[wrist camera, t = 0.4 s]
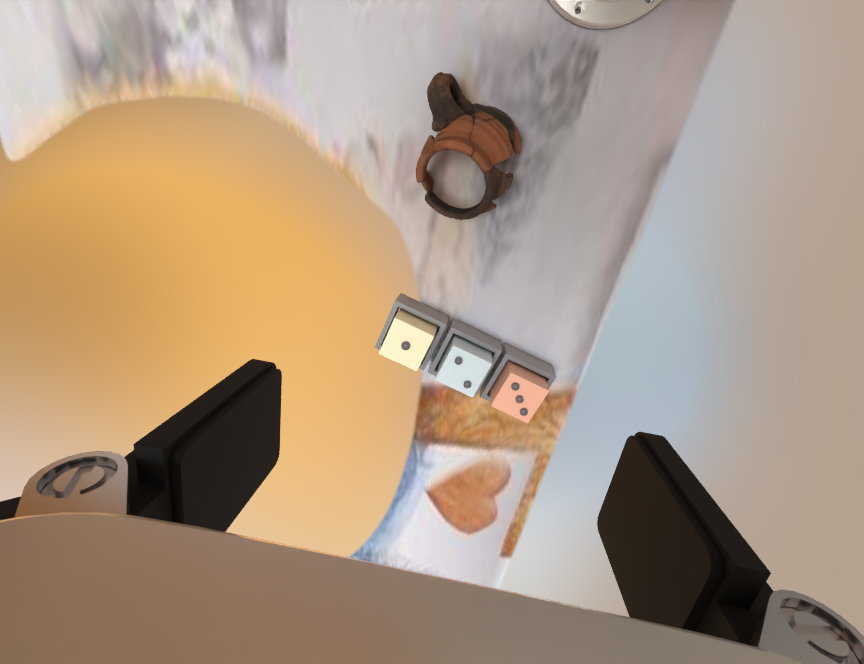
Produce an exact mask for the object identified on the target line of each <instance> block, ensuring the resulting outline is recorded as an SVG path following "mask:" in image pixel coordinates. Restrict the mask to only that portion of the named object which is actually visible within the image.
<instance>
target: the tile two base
mask: <svg viewBox="0 0 864 664" xmlns="http://www.w3.org/2000/svg"><path fill="white" fill-rule="evenodd" d="M453 333H455V334H457V335H459V336H461V337H463V338H465V339H467V340H469V341H471V342H473V343H476V344H478V345H480V346H482V347H484V348H486V349H488V350H490V351H492V365H491V367H490V369H489V370H488V372H487V374H486V375H485V377H484V379H483V381H482V382H481V384H480V386H479V388H478V389H477V391H476V393H475V395H477V393H478V391H479V390H480V388H481V386H482V384H483V383H484V381H485V379H486V378H487V376H488V374H489V372H490V371H491V369H492V367H493V366H494V364H495V362H496V360H497V359H498V357H499V355H500V354H501V352H502V347H501V341H500V340H498V339H496V338H494V337H492V336H490V335H488V334H485V333H483V332H481V331H479V330H477V329H475V328H473V327H471V326H469V325H467V324H465V323H462V322H460V321H458V320H456V319H454V318H453V319H452V321H451V323H450V325H449V327H448V329H447V331H446V333H445V335H444V337H443V339H442V341H441V343H440V345H439V347H438V349H437V351H436V353H435V355H434V356H433V358H432V360H431V363H430V367H429V370H428V373H431V374H433V375H435V376H436V373H437V369H438V365H439V362H440V361H439V360H440V358H441V356H442V354H443V352H444V350H445V348H446V346H447V344H448V342H449V341H450V339H451V337H452V335H453Z"/></svg>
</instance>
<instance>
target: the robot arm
mask: <svg viewBox="0 0 864 664" xmlns="http://www.w3.org/2000/svg"><path fill="white" fill-rule="evenodd" d="M661 1H662V0H649V3H647V2H646V1H645V0H549V2H550V3H551V5H552V6H553V7H554V8H555V9H556V10H557V11H558V12H559V13H560V14H561V15H562V16H563V17H564V18H566V19H568V20H569V21H571V22H573V23H574V24H577V25H580V26H583V27H586V28H592V29H608V28H615V27H619V26H622V25H625V24H628V23H631V22H633V21H635V20H636V19H638V18H640V17H642V16H643V15H645V14H647V13H648V12H649V11H650V10H652V9H653V8H654V7H655V6H656V5H658V4H659V3H660V2H661ZM575 9H579V10H580V14H576V13H575ZM281 380H282V375H281V371H280V370H279V369H276V366H275V364H274V363H271V362H266V361H261V360H255V359H252V360H250V361H248V362H247V363H246V364H244V365H243V366H242V367H240V368H239V369H237V370H236V371H234V372H233V373H232V374H230V375H229V376H228V377H226V378H225V379H224V380H222V381H221V382H219V383H218V384H216V385H215V386H214V387H212V388H211V389H210V390H208V391H207V392H205V393H204V394H203V395H201V396H200V397H198V398H197V399H196V400H194V401H193V402H191V403H190V404H189V405H187V406H186V407H185V408H183V409H182V410H180V411H179V412H178V413H176V414H175V415H173V416H172V417H171V418H169V419H168V420H167V421H165V422H164V423H162V424H161V425H160V426H158V427H157V428H155V429H154V430H153V431H151V432H150V433H148V434H147V435H146V436H144V437H143V438H142V439H140V440H139V441H137V442H136V443H135V444H134V450H133V451H132V452H131V453H129V454H128V455H127V456H126V457H123V456H121V455H120V454H117V453H113V452H106V451H94V452H86V453H80V454H77V455H72V456H68V457H66V458H63V459H61V460H58V461H55V462H53V463H51V464H50V465H48V466H46V467H44V468H42V469H41V470H39V471H38V472H37V473H36V474H34V476H32V477H31V478H30V479H29V481H28V482H27V484H26V485H25V487H24V490H23V493H22V496H21V497H17V498H13V499H9V500H5V501H1V502H0V664H864V636H863V635H862V634H861V633H860V632H859V631H858V630H857V629H856V628H855V627H854V626H852V625H851V624H850V623H849V622H848V621H846V620H845V619H844V618H843V617H841V616H840V615H838V614H837V613H836V612H834V611H833V610H831V609H830V608H828V607H827V606H825V605H824V604H822V603H820V602H818V601H816V600H814V599H812V598H810V597H809V596H806V595H803V594H800V593H798V592H795V591H789V590H778V591H773V590H772V589H771V587H770V586H769V585H768V584H767V582H766V581H767V579H768V577H769V576H770V574H771V573H770V572H769V570H768V569H767V568H766V566H765V565H764V564H763V562H762V561H761V560H760V559H759V557H758V556H757V555H756V553H755V552H754V551H753V550H752V548H751V547H750V546H749V545H748V543H747V542H746V541H745V539H744V538H743V537H742V536H741V534H740V533H739V532H738V530H737V529H736V528H735V527H734V525H733V524H732V523H731V522H730V520H729V519H728V518H727V516H726V515H725V514H724V513H723V512H722V510H721V509H720V507H719V506H718V505H717V504H716V502H715V501H714V500H713V499H712V497H711V496H710V495H709V493H708V492H707V491H706V490H705V488H704V487H703V486H702V484H701V483H700V482H699V481H698V479H697V478H696V477H695V475H694V474H693V473H692V472H691V470H690V469H689V468H688V466H687V465H686V464H685V463H684V462H683V460H682V459H681V458H680V456H679V455H678V454H677V452H676V451H675V450H674V449H673V448H672V446H671V445H670V443H669V442H668V441H667V440H666V438H664V437H663V436H660V435H654V434H649V433H644V432H638V433H636V434H635V436H630V437H628V439H627V441H626V443H625V446H624V449H623V451H622V454H621V457H620V459H619V462H618V465H617V467H616V470H615V473H614V475H613V478H612V481H611V483H610V486H609V489H608V491H607V494H606V497H605V500H604V502H603V505H602V507H601V510H600V513H599V516H598V522H597V524H598V531H599V534H600V537H601V539H602V542H603V545H604V548H605V550H606V553H607V556H608V559H609V561H610V564H611V567H612V569H613V572H614V575H615V578H616V581H617V583H618V586H619V589H620V591H621V594H622V597H623V600H624V603H625V605H626V608H627V611H628V613H629V616H630V617H625V616H621V615H616V614H611V613H607V612H602V611H597V610H592V609H588V608H584V607H579V606H574V605H570V604H565V603H561V602H556V601H552V600H547V599H542V598H538V597H533V596H528V595H524V594H519V593H515V592H510V591H505V590H501V589H496V588H491V587H487V586H482V585H477V584H472V583H468V582H463V581H458V580H454V579H449V578H444V577H440V576H435V575H430V574H425V573H421V572H416V571H411V570H406V569H401V568H397V567H392V566H387V565H382V564H378V563H373V562H368V561H363V560H359V559H354V558H349V557H344V556H339V555H334V554H329V553H324V552H320V551H315V550H309V549H305V548H300V547H295V546H290V545H285V544H281V543H275V542H270V541H265V540H261V539H256V538H251V537H247V536H242V535H237V534H232V533H227V532H225V531H226V530H227V528H228V527H229V526H230V525H231V523H232V522H233V521H234V519H235V518H236V517H237V515H238V514H239V513H240V512H241V510H242V509H243V508H244V506H245V505H246V503H247V502H248V501H249V499H250V498H251V497H252V496H253V494H254V493H255V491H256V490H257V489H258V488H259V486H260V485H261V484H262V482H263V481H264V480H265V478H266V477H267V476H268V474H269V473H270V471H271V470H272V469H273V467H274V466H275V465H276V462H277V460H278V457H279V450H280V416H281Z"/></svg>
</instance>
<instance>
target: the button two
mask: <svg viewBox="0 0 864 664" xmlns="http://www.w3.org/2000/svg"><path fill="white" fill-rule="evenodd" d="M491 365H492V351H490V350H488V349H486V348H484V347H482V346H480V345H478V344H476V343H473V342H471V341H469V340H467V339H465V338H463V337H461V336H459V335H457V334H454V336H453V338H452V340H451V341H450V343H449V345H448V347H447V349H446V351H445V353H444V355H443V357H442V359H441V361H440V362H439V365H438V369H437V373H436V378H435V380H436V381H438V382H440V383H443V384H445V385H447V386H449V387H451V388H453V389H455V390H458V391H460V392H462V393H464V394H466V395H468V396H470V397H472V398H473V396H474V394H475V393H476V391H477V389H478V388H479V386H480V384H481V382H482V381H483V379H484V377H485V375H486V374H487V372H488V370H489V369H490V367H491Z"/></svg>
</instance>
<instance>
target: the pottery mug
mask: <svg viewBox="0 0 864 664" xmlns="http://www.w3.org/2000/svg"><path fill="white" fill-rule="evenodd" d="M427 95H428V101H429V106H430V109H431V112H432V115H433V122H432V129H433V130H434V131H436V132H438V131H440V132H439V133H438V134H437V136H436V138H434V137H433V136H432V135H430V137H429V138H428V140H427V141H426V143H425V146H424V148H423V150H422V153H421V156H420V158H419V160H418V163H417V168H416V178H417V182H418V183H421V182H422V185H423V187H424V188H425V190H426V191H427V194H426V196H425V201H426V202H427V203H428V204H429V205H430V206H431V207H432V208H433V209H435V210H436V211H437V212H438V213H440V214H442V215H444V216H446V217H449V218H455V219H460V220H463V219H471V218H474V217H476V216H478V215H480V214H482V213H485V212H488V211H490V210H492V209H494V208H496V205H495V204H493V202H492V200H494V199H497V198H499V197H500V196H502V195H503V193H504V192H505V190H506V189H508V188H509V187H510V186H511V183H512V179H513V174H512V173H509V174H505V173H503V172H501V171H499V170H498V169H497V168H495V165H497V164H499V163H501V162H502V161H505V160H506V159H509V158H510V157H511V154H512V151H513V147H512V145H511V142H510V141H512V140H513V144H514V149H515V154H519V153H520V152H521V140H520V135H519V133H518V130H517V128H516V126H515V124H514V122H513V121H512V120H511V118H510V117H508V115H507V114H505V113H504V112H502V111H501V110H499V109H497V108H494V107H490V106H483V105H479V104H471V103H470V102H469V101H468V100H467V99H466V98H465V96H464V95H463V94H462V91H461V89H460V87H459V85H458V83H457V81H456V79H455V78H454V77H453V75H451V74H444V73H442V72H440V73H438V74H436V75H435V76H434V77H433V79H432V81H431V83H430V85H429V86H428V91H427ZM470 114H474V117H471V116H470ZM441 150H456V151H460V152H462V153H464V154H466V155H468V156H469V157H471V158H472V159H473V160H474V161H475V162H476V163H477V164H478V166H479V167H480V169H481V171H482V172H483V174H484V177H485V183H486V190H485V194H484V197H483V199H482V200H481V202H480V203H479V204H477V205H476V206H474V207H471V208H467V209H461V208H456V207H453V206H450V205H448V204H446V203H444V202H443V201H442V200H440V199H439V198H438V197H437V196H436V194H435V193H434V192H433V180H432V178H431V176H430V175H429V174H428V172H427V171H426V170H427V164H428V162H429V160H430V158H431V157H432V156H433V155H434V154H436V153H437V152H438V151H441Z"/></svg>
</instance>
